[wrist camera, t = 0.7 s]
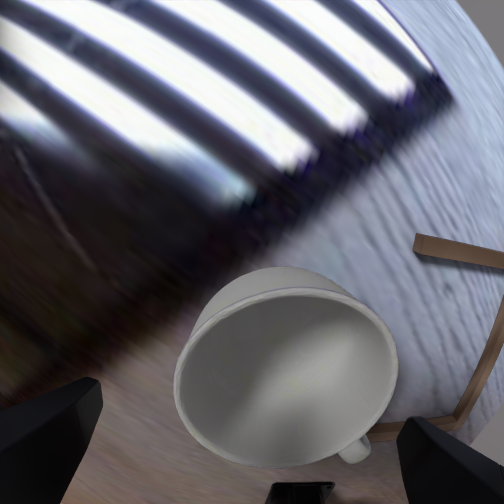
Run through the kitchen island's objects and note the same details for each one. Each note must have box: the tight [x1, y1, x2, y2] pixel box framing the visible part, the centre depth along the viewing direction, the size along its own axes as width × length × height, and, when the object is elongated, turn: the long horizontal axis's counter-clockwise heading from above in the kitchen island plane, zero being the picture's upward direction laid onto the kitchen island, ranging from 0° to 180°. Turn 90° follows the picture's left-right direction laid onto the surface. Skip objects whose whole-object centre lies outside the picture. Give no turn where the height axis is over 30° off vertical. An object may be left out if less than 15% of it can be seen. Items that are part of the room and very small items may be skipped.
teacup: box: [173, 267, 399, 469], centre depth 17 cm, size 14×11×8 cm
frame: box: [365, 233, 504, 442], centre depth 20 cm, size 18×13×1 cm
